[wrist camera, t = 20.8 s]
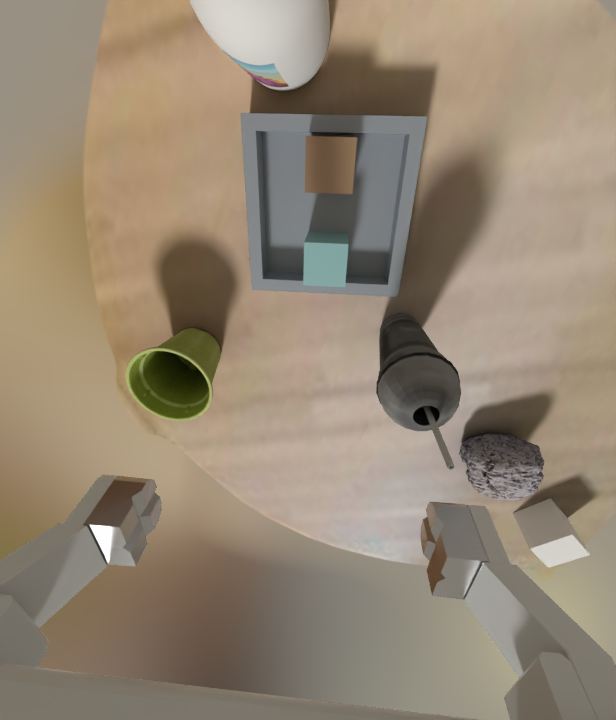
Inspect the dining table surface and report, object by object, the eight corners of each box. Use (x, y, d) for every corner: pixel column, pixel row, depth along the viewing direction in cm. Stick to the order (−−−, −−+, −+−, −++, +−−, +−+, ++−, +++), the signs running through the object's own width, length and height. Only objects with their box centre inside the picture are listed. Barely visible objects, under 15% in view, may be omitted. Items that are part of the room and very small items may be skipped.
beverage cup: (402, 289, 38) (450, 399, 21) (444, 330, 41) (519, 459, 23) (355, 332, 42) (364, 458, 25) (396, 368, 44) (431, 507, 27)
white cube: (550, 497, 53) (572, 534, 48) (567, 517, 55) (590, 554, 50) (512, 512, 56) (529, 549, 51) (530, 531, 58) (548, 568, 53)
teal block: (347, 232, 35) (348, 244, 31) (344, 271, 37) (345, 287, 33) (308, 231, 36) (304, 242, 31) (307, 270, 38) (303, 285, 33)
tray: (419, 119, 31) (427, 116, 28) (394, 286, 38) (398, 296, 36) (249, 116, 31) (240, 112, 29) (258, 280, 39) (251, 289, 37)
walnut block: (355, 139, 31) (357, 137, 27) (351, 188, 33) (352, 194, 29) (310, 138, 31) (305, 135, 27) (309, 187, 33) (304, 192, 29)
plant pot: (146, 333, 44) (106, 369, 37) (204, 302, 41) (174, 335, 34) (191, 387, 48) (163, 430, 41) (247, 363, 45) (229, 404, 38)
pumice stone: (441, 447, 53) (499, 484, 52) (439, 482, 46) (506, 525, 45) (487, 400, 48) (553, 441, 47) (493, 433, 41) (570, 481, 40)
